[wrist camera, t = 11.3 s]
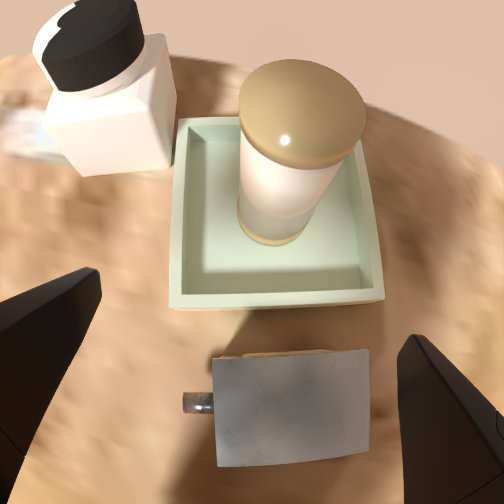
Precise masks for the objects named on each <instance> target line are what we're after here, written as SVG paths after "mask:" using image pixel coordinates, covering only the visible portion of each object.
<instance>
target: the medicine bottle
mask: <svg viewBox="0 0 504 504" xmlns="http://www.w3.org/2000/svg"><path fill="white" fill-rule="evenodd" d="M33 55H34V57H35V58H36V60H37V62H38V63H39V65H40V67H41V68H42V70H43V72H44V74H45V75H46V77H47V78H48V80H49V82H50V83H51V85H52V87H53V88H54V90H53V93H52V95H51V98H50V101H49V103H48V106H47V109H46V112H45V115H44V118H43V120H42V124H41V126H42V128H43V129H44V131H45V132H46V133H47V134H48V136H49V137H50V138H51V139H52V141H53V142H54V143H55V144H56V146H57V147H58V148H59V149H60V150H61V152H62V153H63V154H64V155H65V156H66V158H67V159H68V160H69V161H70V162H71V164H72V165H73V166H74V167H75V168H76V170H77V171H78V172H79V173H80V174H81V175H82V176H84V177H87V176H96V175H105V174H116V173H126V172H138V171H151V170H166V169H168V168H170V165H171V155H172V143H173V132H174V122H175V112H176V103H177V93H176V89H175V84H174V79H173V74H172V69H171V64H170V58H169V53H168V48H167V43H166V38H165V35H164V34H160V33H159V34H151V35H144V34H143V30H142V26H141V22H140V18H139V14H138V10H137V5H136V2H135V1H134V0H79V1H77V2H74V3H73V4H71V5H69V6H67V7H66V8H64V9H62V10H61V11H60V12H58V13H57V14H56V15H55V16H54V17H52V18H51V19H50V20H49V21H48V22H47V23H46V24H45V25H44V26H43V27H42V29H41V30H40V31H39V33H38V35H37V37H36V39H35V42H34V46H33Z"/></svg>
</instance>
